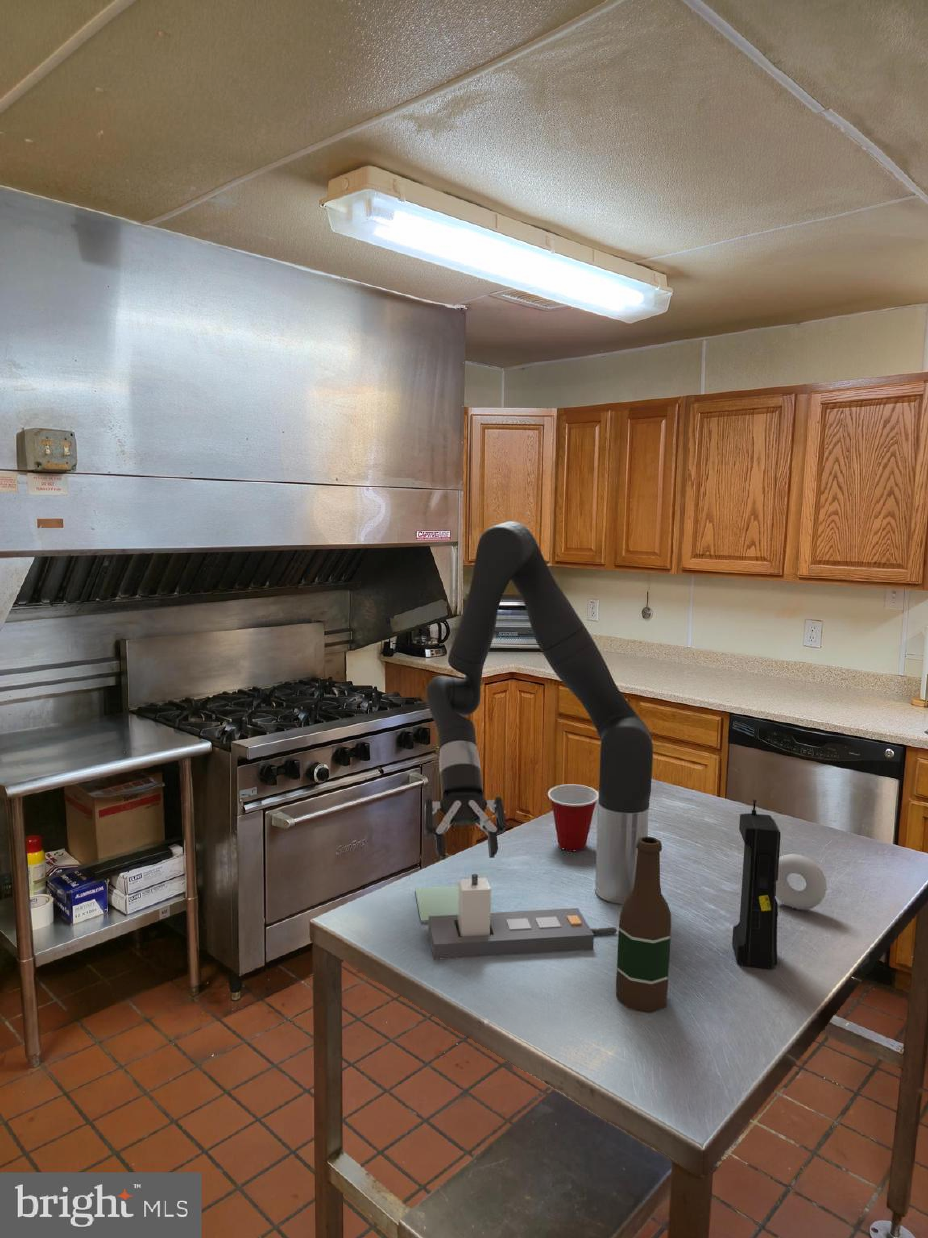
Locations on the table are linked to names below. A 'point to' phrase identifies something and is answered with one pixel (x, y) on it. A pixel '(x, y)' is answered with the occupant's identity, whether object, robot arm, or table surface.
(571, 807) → the plastic cup
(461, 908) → the block
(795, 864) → the donut
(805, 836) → the table surface
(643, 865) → the beer bottle
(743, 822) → the portable radio
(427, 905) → the mat
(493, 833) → the robot arm
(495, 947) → the power strip
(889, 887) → the table surface
